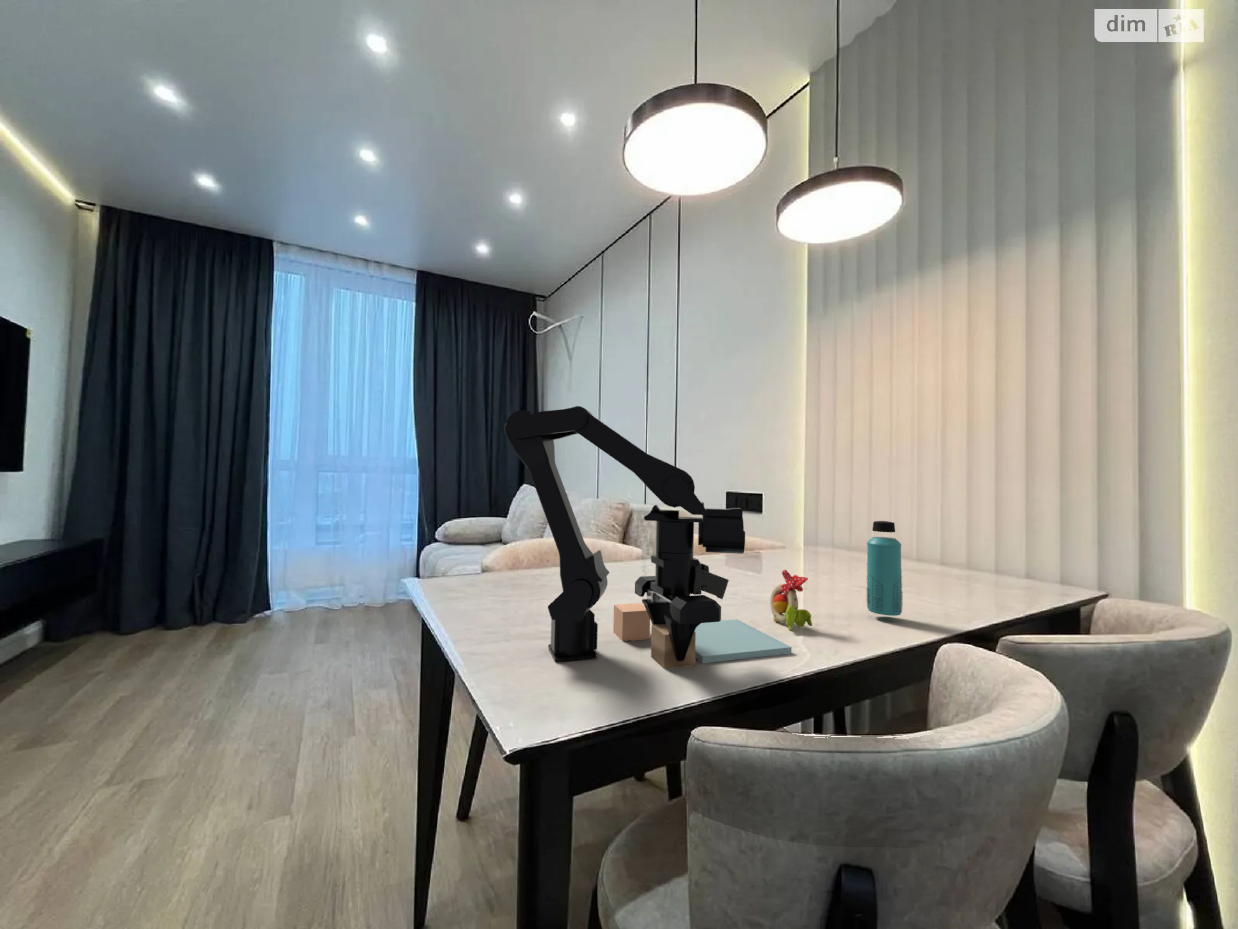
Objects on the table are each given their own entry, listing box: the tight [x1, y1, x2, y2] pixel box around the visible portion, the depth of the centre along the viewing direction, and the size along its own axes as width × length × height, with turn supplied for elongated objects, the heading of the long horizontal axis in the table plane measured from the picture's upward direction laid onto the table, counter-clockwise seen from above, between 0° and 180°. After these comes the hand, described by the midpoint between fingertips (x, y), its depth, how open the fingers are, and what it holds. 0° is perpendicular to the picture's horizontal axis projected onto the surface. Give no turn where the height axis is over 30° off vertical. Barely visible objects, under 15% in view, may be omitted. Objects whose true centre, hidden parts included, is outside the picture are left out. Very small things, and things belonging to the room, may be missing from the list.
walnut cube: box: [650, 624, 696, 670], centre depth 74 cm, size 5×5×5 cm
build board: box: [694, 618, 792, 664], centre depth 83 cm, size 16×16×1 cm
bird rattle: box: [769, 569, 813, 631], centre depth 94 cm, size 6×11×9 cm
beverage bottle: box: [865, 520, 904, 617], centre depth 100 cm, size 6×7×20 cm
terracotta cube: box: [612, 602, 651, 642], centre depth 85 cm, size 5×5×5 cm
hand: (672, 654), depth 74 cm, fingers open, 5 cm apart
